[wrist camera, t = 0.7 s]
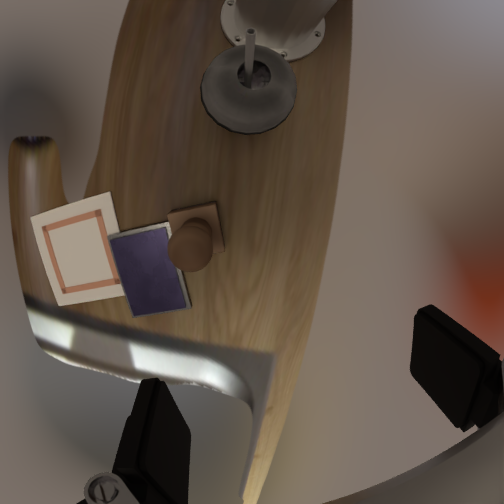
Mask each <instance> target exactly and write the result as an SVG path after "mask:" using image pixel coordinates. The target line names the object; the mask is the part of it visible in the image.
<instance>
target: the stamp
mask: <svg viewBox="0 0 504 504" xmlns="http://www.w3.org/2000/svg"><path fill="white" fill-rule="evenodd" d="M167 216H168V220H169V225H170V229H171V233H172V236H171V237H170V239H169V242H168V247H167V251H168V256H169V259H170V261H171V262H172V263H173V265H174V266H175V267H177V268H178V269H180V270H182V271H185V272H195V271H198V270H201V269H203V268H204V267H205V266H206V265H207V264H208V263H209V261H210V260H211V257H212V254H216V253H221V252H225V244H224V239H223V234H222V229H221V224H220V219H219V214H218V209H217V204H216V201H214V202H209V203H204V204H199V205H194V206H189V207H184V208H180V209H175V210H172V211H170V212H169V213H168V214H167Z"/></svg>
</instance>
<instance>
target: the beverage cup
mask: <svg viewBox="0 0 504 504" xmlns="http://www.w3.org/2000/svg"><path fill="white" fill-rule="evenodd" d="M255 39H256V30H255V29H254V28H248V29H247V30H246V41H245V45H238V46H235V47H232V48H230V49H227V50H225V51H224V52H222V53H221V54H219V55H218V56H217V57H215V58H214V60H213V61H212V63H211V64H210V65H209V67H208V68H207V70H206V71H205V73H204V75H203V79H202V82H201V86H200V91H201V101H202V103H203V106H204V108H205V110H206V112H207V114H208V115H209V116H210V117H211V118H212V119H213V120H214V121H215V122H216V124H218V125H219V126H221V127H223V128H225V129H227V130H229V131H230V132H235V133H240V134H244V135H249V134H261V133H264V132H266V131H269V130H271V129H274V128H276V127H277V126H278V125H279V124H281V123H282V122H283V121H284V120H286V118H287V117H288V115H289V114H290V112H291V110H292V109H293V107H294V102H295V98H296V93H297V85H296V77H295V74H294V72H293V70H292V68H291V66H290V64H289V63H288V62H287V61H286V60H285V59H284V58H283V57H282V56H281V55H280V54H279V53H277V52H276V51H274V50H272V49H270V48H268V47H265V46H261V45H256V44H255Z"/></svg>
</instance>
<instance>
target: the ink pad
mask: <svg viewBox="0 0 504 504" xmlns="http://www.w3.org/2000/svg"><path fill="white" fill-rule="evenodd" d="M171 236H172V233H171V229H170V225H169V221H165V222H160V223H155V224H151V225H147V226H142V227H138V228H134V229H129V230H125V231H121V232H118V233H114V234H110V235H108V236H107V239H108V243H109V246H110V250H111V253H112V257H113V260H114V263H115V267H116V270H117V273H118V276H119V279H120V282H121V286H122V289H123V292H124V294H125V297H126V300H127V303H128V306H129V309H130V312H131V314H132V317H133V318H136V317H142V316H149V315H155V314H162V313H168V312H174V311H180V310H186V309H191V308H192V303H191V299H190V296H189V292H188V288H187V285H186V281H185V277H184V273H183V271H182V270H180V269H178V268H177V267H175V266H174V265H173V263H172V262H171V261H170V259H169V256H168V251H167V247H168V242H169V239H170V237H171Z"/></svg>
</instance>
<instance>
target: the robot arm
mask: <svg viewBox="0 0 504 504" xmlns="http://www.w3.org/2000/svg"><path fill="white" fill-rule="evenodd" d="M336 1H337V0H225V2H224V4H223V6H222V10H221V26H222V30H223V32H224V34H225V36H226V38H227V39H228V40H229V42H230V43H231V44H232V45H233V46H234V47H235V46H238V45H245V41H246V30H247V29H248V28H254V29H255V30H256V39H255V44H256V45H261V46H265V47H268V48H270V49H272V50H274V51H276V52H277V53H279V54H280V55H283V56H284V59H285V60H286V61H287V62H291V61H296V60H298V59H301V58H304V57H305V56H307V55H309V54H310V53H312V52H313V51H314V50H315V49H316V48H317V47H318V45H319V44H320V43H321V41H322V39H323V37H324V34H325V29H326V27H325V19H324V16H325V15H326V14H327V13H328V11H329V10H330V9H331V8H332V6H333V5H334V4H335V3H336ZM230 5H232V6H230ZM315 35H316V36H317V37H316V36H315ZM236 40H239V42H237V41H236ZM499 357H500V354H498V353H497V352H496V351H495V350H493V349H492V348H491V347H490V346H488V345H487V344H486V343H484V342H483V341H482V340H480V339H479V338H478V337H476V336H475V335H474V334H472V333H471V332H470V331H468V330H467V329H466V328H464V327H463V326H462V325H460V324H459V323H457V322H456V321H455V320H453V319H452V318H451V317H449V316H448V315H446V314H445V313H444V312H442V311H441V310H439V309H438V308H437V307H435V306H434V305H428V306H425V307H423V308H420V309H419V310H418V311H417V314H416V315H415V316H414V329H413V342H412V353H411V362H410V372H411V374H412V376H413V377H414V379H415V380H416V381H417V382H418V383H419V384H420V385H421V387H422V388H423V389H424V390H425V391H426V393H427V394H428V395H429V396H430V397H431V398H432V400H433V401H434V402H435V403H436V404H437V406H438V407H439V408H440V409H441V410H442V412H443V413H444V414H445V415H446V416H447V418H448V419H449V420H450V421H451V422H452V424H453V425H454V426H455V427H456V428H459V427H460V429H461V430H462V431H463V432H465V431H467V430H468V429H470V428H471V427H473V426H474V425H476V426H477V427H478V430H477V431H476V432H475V433H473V434H471V435H470V436H468V437H467V438H465V439H464V440H462V441H461V442H459V443H457V444H456V445H454V446H453V447H451V448H449V449H448V450H446V451H444V452H442V453H441V454H439V455H437V456H435V457H434V458H432V459H430V460H428V461H426V462H424V463H423V464H421V465H419V466H417V467H415V468H413V469H411V470H409V471H407V472H405V473H402V474H400V475H398V476H396V477H394V478H392V479H389V480H387V481H385V482H382V483H380V484H377V485H375V486H373V487H370V488H367V489H365V490H362V491H359V492H357V493H354V494H351V495H348V496H345V497H342V498H339V499H336V500H333V501H329V502H326V503H323V504H504V359H503V361H501V360H499ZM190 446H191V433H190V429H189V427H188V425H187V424H186V422H185V420H184V418H183V416H182V414H181V413H180V411H179V409H178V407H177V405H176V403H175V401H174V399H173V397H172V395H171V393H170V391H169V389H168V387H167V385H166V383H165V382H164V381H160V380H159V379H158V378H150V379H143V380H142V381H141V383H140V386H139V390H138V393H137V396H136V399H135V402H134V406H133V409H132V412H131V415H130V416H129V417H128V418H127V420H126V423H125V427H124V430H123V433H122V437H121V440H120V444H119V447H118V451H117V454H116V458H115V462H114V465H113V470H112V473H109V472H104V473H99V474H96V475H94V476H93V477H92V478H90V479H89V480H88V482H87V483H86V485H85V487H84V496H85V499H84V500H82V501H80V502H79V503H77V504H188V485H189V464H190Z"/></svg>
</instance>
